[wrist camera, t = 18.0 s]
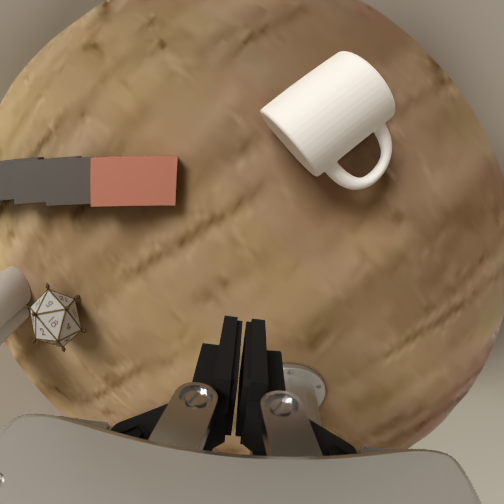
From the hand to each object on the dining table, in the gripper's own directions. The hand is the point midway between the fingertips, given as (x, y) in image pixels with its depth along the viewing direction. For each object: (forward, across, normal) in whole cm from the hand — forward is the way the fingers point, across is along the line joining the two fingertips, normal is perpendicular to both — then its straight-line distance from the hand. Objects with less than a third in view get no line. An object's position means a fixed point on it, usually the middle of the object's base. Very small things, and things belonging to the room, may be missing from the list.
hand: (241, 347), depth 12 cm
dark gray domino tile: (+20, +20, -5) cm, 29 cm away
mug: (+21, -7, -12) cm, 25 cm away
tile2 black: (+20, +15, -5) cm, 25 cm away
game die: (+22, +24, +13) cm, 35 cm away
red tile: (+20, +8, -5) cm, 22 cm away
